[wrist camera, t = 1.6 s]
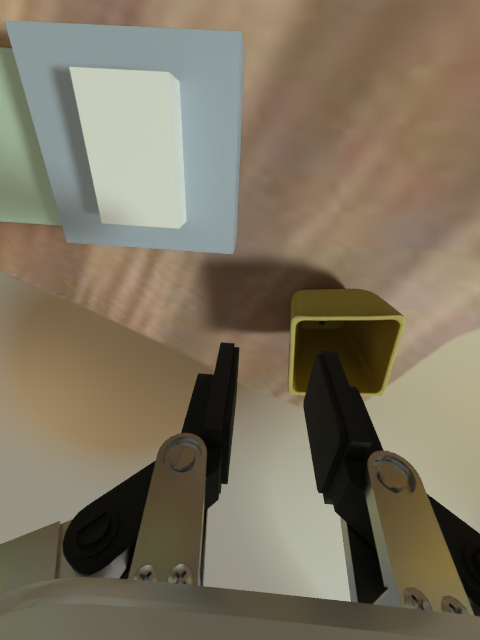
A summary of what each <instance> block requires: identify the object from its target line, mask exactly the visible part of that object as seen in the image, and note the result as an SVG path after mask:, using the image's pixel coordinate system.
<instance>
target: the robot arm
mask: <svg viewBox="0 0 480 640" xmlns="http://www.w3.org/2000/svg"><path fill="white" fill-rule="evenodd" d="M238 362H239V347H234V343H222V342H221V344H220V349H219V354H218V358H217V363H216V368H215V372H214V375H212V374H200V373H199V374H198V376H197V380H196V383H195V387H194V391H193V394H192V397H191V401H190V404H189V408H188V411H187V415H186V418H185V422H184V425H183V429H182V432H181V433H179V434H176V435H174V436H171V437H170V438H169V439H167V440H166V441H165V442H164V443H163V444H162V446H161V447H160V449H159V451H158V454H157V458H156V461H154V462H153V463H151V464H150V465H148V466H147V467H145V468H144V469H142V470H141V471H139V472H138V473H136V474H134V475H133V476H131V477H130V478H129V479H127V480H125V481H124V482H122V483H121V484H120V485H118V486H116V487H115V488H113V489H112V490H110V491H109V492H107V493H106V494H104V495H103V496H101V497H100V498H98V499H97V500H95V501H94V502H92V503H91V504H89V505H87V506H86V507H85V508H84V509H82V510H81V511H80V512H79V513H78V514H77V515H76V516H75V517H74V519H73V520H70V521H68V522H65V523H63V524H61V522H60V521H58V522H56V523H53V524H51V525H48V526H46V527H43V528H41V529H38V530H36V531H33V532H31V533H28V534H26V535H23V536H20V537H18V538H15V539H13V540H11V541H8V542H5V543H3V544H0V640H480V534H479V533H478V532H477V531H475V530H474V529H473V528H471V527H470V526H469V525H467V524H466V523H465V522H463V521H462V520H461V519H459V518H458V517H457V516H455V515H454V514H453V513H451V512H450V511H449V510H448V509H446V508H445V507H444V506H442V505H441V504H440V503H438V502H437V501H436V500H434V499H433V498H432V497H430V496H429V495H428V494H427V493H426V491H425V489H424V486H423V483H422V481H421V478H420V477H419V475H418V473H417V471H416V470H415V469H414V467H413V466H412V465H411V464H410V463H409V462H408V461H406V460H405V459H404V458H402V457H401V456H399V455H397V454H395V453H392V452H389V451H383V448H382V446H381V443H380V441H379V438H378V436H377V434H376V431H375V429H374V427H373V424H372V421H371V419H370V417H369V414H368V412H367V409H366V407H365V404H364V402H363V400H362V397H361V395H360V392H359V390H358V389H357V388H356V387H354V386H350V385H349V382H348V380H347V377H346V375H345V372H344V369H343V367H342V364H341V362H340V359H339V356H338V354H337V352H333V351H321V352H320V354H316V355H315V358H314V362H313V366H312V370H311V374H310V378H309V382H308V386H307V390H306V394H305V398H304V413H305V419H306V425H307V431H308V437H309V443H310V448H311V455H312V461H313V467H314V473H315V479H316V485H317V490H318V492H319V493H323V497H324V502H325V504H333V505H334V509H335V512H336V513H337V514H338V515H339V516H340V517H341V527H342V534H343V543H344V551H345V558H346V566H347V574H348V582H349V590H350V597H351V602H346V601H338V600H328V599H319V598H309V597H301V596H291V595H282V594H272V593H262V592H254V591H244V590H234V589H224V588H214V587H204V569H205V550H206V534H207V516H208V508H209V507H210V506H212V505H213V504H214V503H215V502H216V501H217V500H218V498H219V494H220V493H221V484H227V483H228V474H229V464H230V454H231V445H232V435H233V425H234V415H235V405H236V393H237V378H238Z"/></svg>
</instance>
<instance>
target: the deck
mask: <svg viewBox="0 0 480 640" xmlns="http://www.w3.org/2000/svg"><path fill="white" fill-rule="evenodd" d="M4 21H5V25H6V28H7V32H8V35H9V39H10V42H11V46H12V49H13V53H14V56H15V60H16V64H17V67H18V71H19V74H20V78H21V81H22V85H23V88H24V92H25V95H26V99H27V102H28V106H29V109H30V113H31V117H32V120H33V124H34V127H35V131H36V134H37V138H38V141H39V145H40V148H41V152H42V155H43V159H44V163H45V166H46V170H47V173H48V177H49V180H50V184H51V187H52V191H53V194H54V198H55V201H56V205H57V208H58V212H59V216H60V219H61V223H62V226H63V230H64V233H65V237H66V240H67V242H70V243H84V244H98V245H112V246H126V247H140V248H155V249H169V250H183V251H197V252H211V253H225V254H233V252H234V248H235V245H236V237H237V215H238V192H239V169H240V146H241V123H242V100H243V78H244V55H245V51H244V45H243V39H242V33H241V32H240V31H219V30H198V29H176V28H155V27H134V26H112V25H91V24H70V23H48V22H27V21H6V20H4ZM69 67H84V68H103V69H122V70H142V71H161V72H169V73H171V74H172V75H173V76H174V77H175V78H176V79H177V80H178V81H180V101H181V121H182V141H183V161H184V180H185V200H186V220H187V222H186V223H185V224H183V225H182V226H181V227H180V228H179V229H177V228H162V227H148V226H133V225H118V224H104V223H102V222H101V218H100V213H99V208H98V203H97V198H96V194H95V189H94V184H93V179H92V174H91V170H90V165H89V160H88V155H87V150H86V146H85V141H84V136H83V131H82V126H81V122H80V117H79V112H78V107H77V102H76V98H75V93H74V88H73V83H72V78H71V74H70V69H69Z"/></svg>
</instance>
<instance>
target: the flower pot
mask: <svg viewBox="0 0 480 640" xmlns="http://www.w3.org/2000/svg"><path fill="white" fill-rule="evenodd" d="M320 321H324V323H323V324H320V323H319V322H320ZM404 326H405V317H404V316H403V315H402V314H401V313H399V312H398V311H397V310H396V309H394V308H393V307H392V306H391V305H389V304H388V303H387V302H386V301H384V300H383V299H382V298H380V297H379V296H378V295H376V294H374V293H372V292H369V291H366V290H361V289H307V290H299V291H297V292H296V293H295V294H294V295H293V297H292V301H291V324H290V346H289V368H288V392H289V394H295V395H305V394H306V390H307V386H308V382H309V378H310V374H311V370H312V366H313V362H314V358H315V355H316V354H320V352H321V351H333V352H337V354H338V356H339V359H340V362H341V364H342V367H343V369H344V372H345V375H346V377H347V380H348V382H349V385H350V386H354V387H356V388H357V389H358V390H359V392H360V395H361V396H380V395H383V394H384V392H385V389H386V386H387V383H388V379H389V376H390V372H391V369H392V365H393V362H394V359H395V355H396V352H397V349H398V346H399V343H400V340H401V337H402V333H403V330H404Z"/></svg>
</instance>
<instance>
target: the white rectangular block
mask: <svg viewBox="0 0 480 640" xmlns="http://www.w3.org/2000/svg"><path fill="white" fill-rule="evenodd" d="M69 69H70V74H71V78H72V83H73V88H74V93H75V98H76V102H77V107H78V112H79V117H80V122H81V126H82V131H83V136H84V141H85V146H86V150H87V155H88V160H89V165H90V170H91V174H92V179H93V184H94V189H95V194H96V198H97V203H98V208H99V213H100V218H101V222H102V223H104V224H118V225H133V226H148V227H162V228H177V229H179V228H180V227H181V226H182V225H183V224H185V223H186V222H187V220H186V200H185V180H184V161H183V141H182V121H181V101H180V81H178V80H177V79H176V78H175V77H174V76H173V75H172V74H171V73H169V72H161V71H142V70H122V69H103V68H84V67H69Z"/></svg>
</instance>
